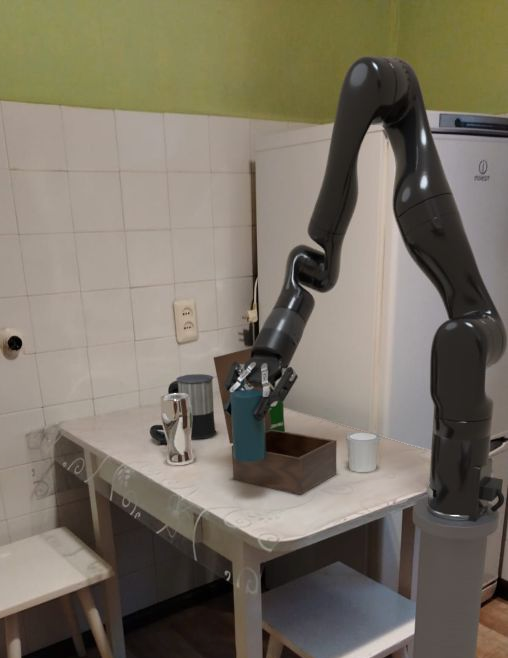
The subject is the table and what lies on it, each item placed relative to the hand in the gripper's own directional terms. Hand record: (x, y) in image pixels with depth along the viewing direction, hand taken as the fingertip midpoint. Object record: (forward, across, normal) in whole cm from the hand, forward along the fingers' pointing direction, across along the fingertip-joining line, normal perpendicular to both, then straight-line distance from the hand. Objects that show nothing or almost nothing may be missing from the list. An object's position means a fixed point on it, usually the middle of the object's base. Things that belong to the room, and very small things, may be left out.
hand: (242, 415), depth 115 cm
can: (+5, 0, +7) cm, 9 cm away
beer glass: (+4, -28, +20) cm, 35 cm away
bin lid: (-11, -11, +11) cm, 19 cm away
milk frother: (-6, -40, +30) cm, 50 cm away
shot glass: (-8, +9, +32) cm, 35 cm away
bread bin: (+1, -2, +23) cm, 23 cm away
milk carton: (-12, -21, +37) cm, 44 cm away
